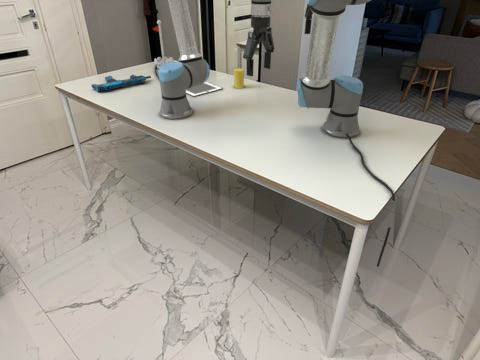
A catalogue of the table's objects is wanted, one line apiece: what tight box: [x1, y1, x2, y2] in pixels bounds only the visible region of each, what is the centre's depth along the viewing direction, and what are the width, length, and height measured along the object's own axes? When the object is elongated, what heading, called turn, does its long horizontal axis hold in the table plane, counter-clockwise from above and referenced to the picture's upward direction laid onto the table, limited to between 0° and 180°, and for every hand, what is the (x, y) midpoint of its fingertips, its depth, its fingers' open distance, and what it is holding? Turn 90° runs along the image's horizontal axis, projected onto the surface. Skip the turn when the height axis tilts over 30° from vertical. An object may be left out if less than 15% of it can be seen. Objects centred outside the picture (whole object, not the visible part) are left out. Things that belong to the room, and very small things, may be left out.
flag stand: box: [152, 19, 175, 69], centre depth 231 cm, size 13×13×30 cm
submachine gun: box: [90, 74, 152, 92], centre depth 206 cm, size 34×4×25 cm
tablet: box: [186, 81, 223, 97], centre depth 203 cm, size 32×20×1 cm, turn 41°
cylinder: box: [233, 67, 245, 89], centre depth 199 cm, size 6×6×10 cm
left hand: (258, 71), depth 142 cm, fingers open, 13 cm apart
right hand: (311, 36), depth 162 cm, fingers open, 13 cm apart
